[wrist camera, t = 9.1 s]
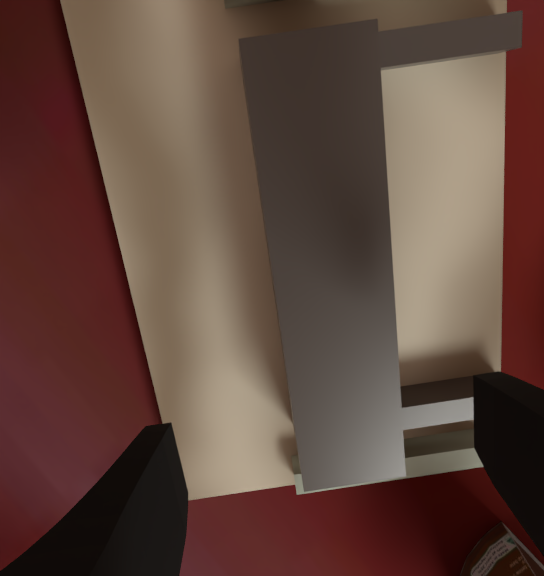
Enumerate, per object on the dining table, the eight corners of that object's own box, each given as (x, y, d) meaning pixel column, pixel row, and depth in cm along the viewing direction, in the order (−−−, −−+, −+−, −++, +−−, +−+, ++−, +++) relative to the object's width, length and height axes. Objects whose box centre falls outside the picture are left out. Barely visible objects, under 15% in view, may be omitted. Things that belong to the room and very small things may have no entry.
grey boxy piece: (292, 423, 21) (304, 492, 17) (239, 57, 16) (238, 38, 12) (494, 393, 21) (550, 454, 17) (498, 19, 16) (575, -11, 12)
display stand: (185, 477, 23) (178, 522, 20) (70, -11, 17) (39, -36, 14) (483, 433, 23) (513, 472, 21) (485, -70, 17) (529, -105, 14)
